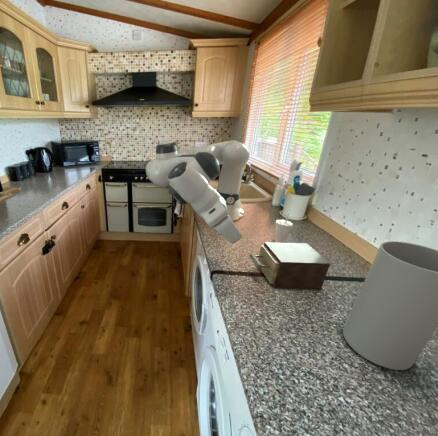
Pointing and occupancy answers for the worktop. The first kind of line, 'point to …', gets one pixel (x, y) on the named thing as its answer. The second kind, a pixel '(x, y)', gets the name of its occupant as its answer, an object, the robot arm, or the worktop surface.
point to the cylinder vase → (395, 306)
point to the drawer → (266, 263)
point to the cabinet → (298, 265)
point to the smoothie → (282, 230)
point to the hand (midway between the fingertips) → (238, 236)
